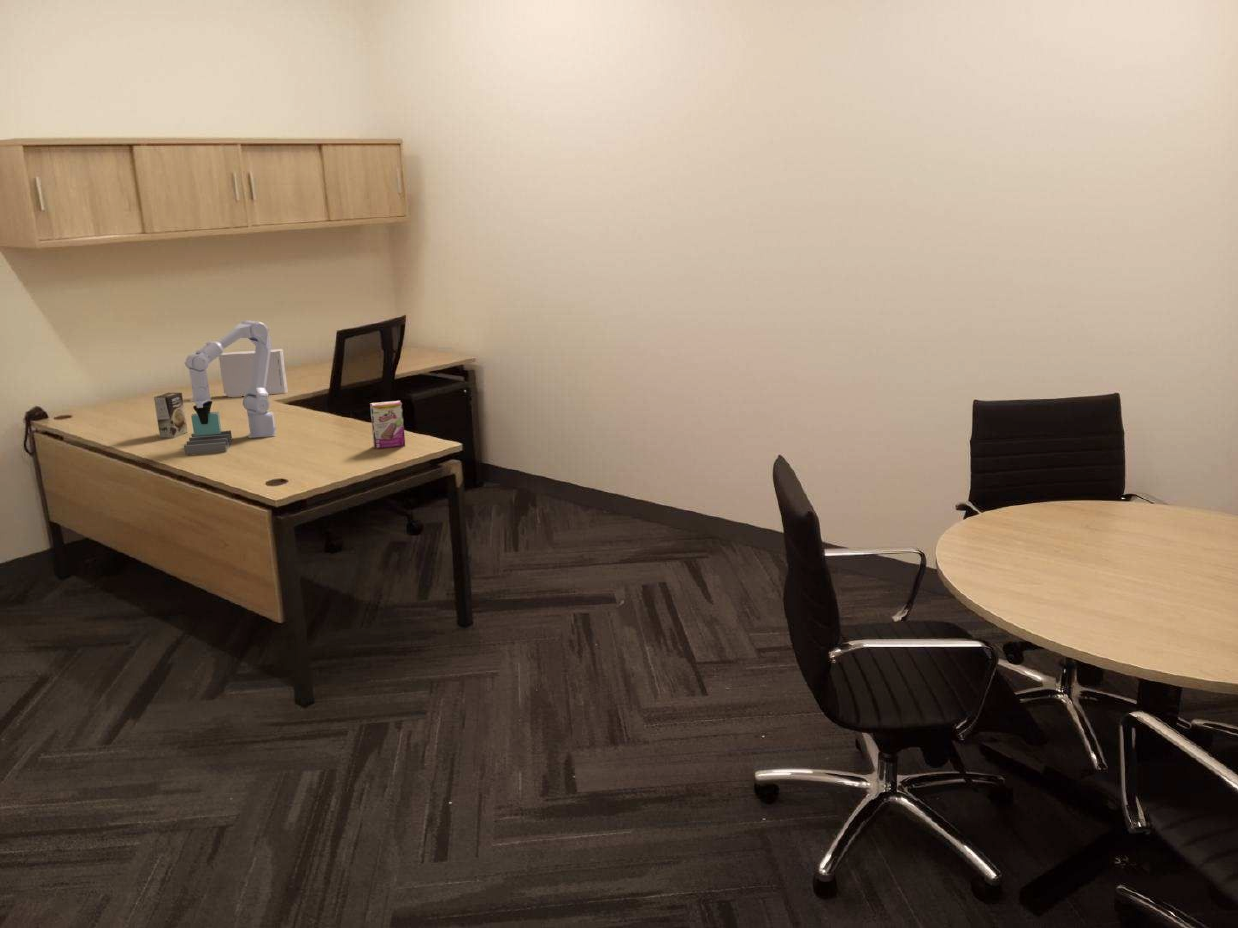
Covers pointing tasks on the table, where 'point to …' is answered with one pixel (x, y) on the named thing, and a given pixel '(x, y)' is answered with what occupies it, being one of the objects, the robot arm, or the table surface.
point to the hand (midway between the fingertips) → (205, 422)
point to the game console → (240, 371)
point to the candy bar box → (387, 424)
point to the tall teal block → (209, 428)
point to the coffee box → (170, 415)
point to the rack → (208, 443)
